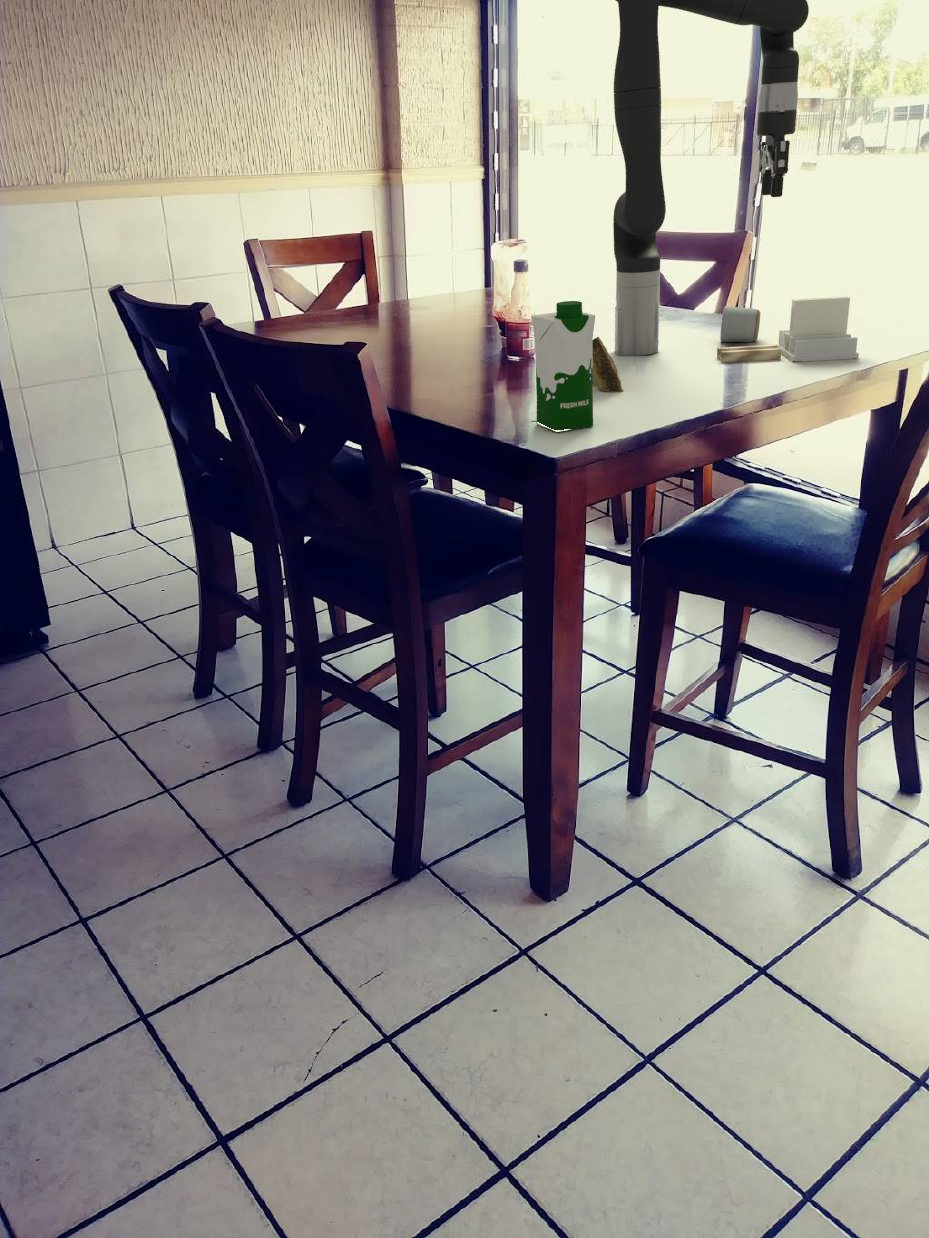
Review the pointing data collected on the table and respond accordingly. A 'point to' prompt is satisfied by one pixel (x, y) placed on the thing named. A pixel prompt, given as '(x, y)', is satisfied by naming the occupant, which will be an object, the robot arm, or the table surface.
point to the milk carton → (564, 366)
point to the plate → (819, 316)
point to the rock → (604, 368)
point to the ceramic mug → (740, 324)
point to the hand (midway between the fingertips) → (771, 196)
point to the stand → (748, 353)
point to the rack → (817, 347)
